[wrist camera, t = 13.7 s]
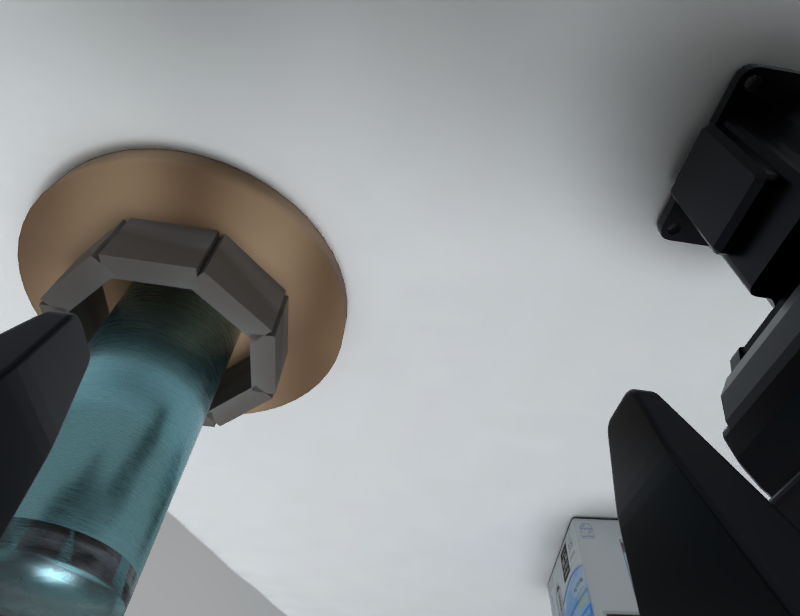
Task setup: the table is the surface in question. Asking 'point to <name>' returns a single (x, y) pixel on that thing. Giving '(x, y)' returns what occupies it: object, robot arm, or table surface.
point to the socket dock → (193, 264)
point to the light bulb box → (592, 572)
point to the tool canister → (116, 456)
